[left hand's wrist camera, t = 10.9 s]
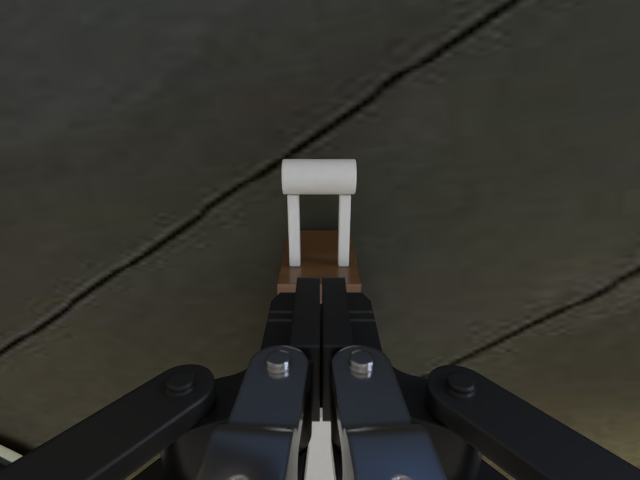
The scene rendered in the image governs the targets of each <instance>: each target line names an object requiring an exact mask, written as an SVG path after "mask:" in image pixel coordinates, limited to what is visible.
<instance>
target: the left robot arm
mask: <svg viewBox="0 0 640 480" xmlns="http://www.w3.org/2000/svg"><path fill="white" fill-rule="evenodd" d="M322 415H323V421H331V457H332V466H333V475H334V480H508V479H507V478H506V477H505V476H503V475H502V474H501V473H499V472H498V471H497V470H495V469H494V468H493V467H491V466H490V465H489V464H488V463H486V462H485V461H484V460H482V454H483V455H484V456H485V457H487V458H488V459H489V460H491V461H492V462H493V463H495V464H496V465H497V466H499V467H500V468H501V469H503V470H504V471H505V472H507V473H508V474H509V475H511V476H512V477H513V478H515V479H516V480H640V469H638V468H637V467H635V466H633V465H632V464H630V463H628V462H626V461H625V460H623V459H621V458H620V457H618V456H616V455H615V454H613V453H611V452H610V451H608V450H606V449H605V448H603V447H601V446H600V445H598V444H596V443H595V442H593V441H591V440H589V439H588V438H586V437H584V436H583V435H581V434H579V433H578V432H576V431H574V430H573V429H571V428H569V427H568V426H566V425H564V424H563V423H561V422H559V421H558V420H556V419H554V418H553V417H551V416H549V415H547V414H546V413H544V412H542V411H541V410H539V409H537V408H536V407H534V406H532V405H531V404H529V403H527V402H526V401H524V400H522V399H521V398H519V397H517V396H516V395H514V394H512V393H511V392H509V391H507V390H505V389H504V388H502V387H500V386H499V385H497V384H495V383H494V382H492V381H490V380H489V379H487V378H485V377H484V376H482V375H480V374H479V373H477V372H475V371H473V370H470V369H468V368H465V367H461V366H454V365H446V366H441V367H438V368H436V369H434V370H433V371H431V372H430V374H429V375H428V378H427V379H425V378H421V377H417V376H412V375H409V374H406V373H403V372H401V371H399V370H397V369H395V368H394V367H392V365H391V362H390V360H389V358H388V357H387V356H386V355H385V354H384V353H383V352H382V349H381V345H380V340H379V336H378V332H377V327H376V323H375V319H374V314H373V310H372V306H371V301H370V300H369V299H368V298H367V297H366V296H365V295H364V294H363V293H362V292H347V290H346V282H345V277H322ZM312 422H320V277H297V283H296V291H295V292H280V293H279V294H278V295H277V296H276V297H275V298H274V299H273V300H272V302H271V306H270V311H269V315H268V322H267V324H266V329H265V333H264V338H263V343H262V347H261V350H260V351H259V352H257V353H256V354H255V355H254V356H253V357H252V358H251V360H250V362H249V365H248V368H247V369H246V370H244V371H242V372H240V373H237V374H234V375H231V376H227V377H222V378H218V379H214V376H213V374H212V372H211V371H210V370H209V369H207V368H205V367H203V366H200V365H192V364H189V365H181V366H177V367H174V368H171V369H169V370H167V371H165V372H163V373H161V374H160V375H158V376H156V377H155V378H153V379H151V380H150V381H148V382H146V383H145V384H143V385H141V386H140V387H138V388H136V389H135V390H133V391H131V392H130V393H128V394H126V395H124V396H123V397H121V398H119V399H118V400H116V401H114V402H113V403H111V404H109V405H108V406H106V407H104V408H103V409H101V410H99V411H98V412H96V413H94V414H93V415H91V416H89V417H87V418H86V419H84V420H82V421H81V422H79V423H77V424H76V425H74V426H72V427H71V428H69V429H67V430H66V431H64V432H62V433H61V434H59V435H57V436H56V437H54V438H52V439H51V440H49V441H47V442H45V443H44V444H42V445H40V446H39V447H37V448H35V449H34V450H32V451H30V452H29V453H27V454H25V455H24V456H22V457H20V458H19V459H17V460H15V461H14V462H12V463H10V464H9V465H7V466H5V467H3V468H2V469H0V480H124V479H125V478H127V477H128V476H129V475H131V474H132V473H133V472H135V471H136V470H137V469H139V468H140V467H141V466H143V465H144V464H145V463H147V462H148V461H149V460H151V459H152V458H153V457H155V456H156V455H157V454H158V453H160V455H161V457H160V458H159V459H158V460H156V461H155V462H154V463H152V464H151V465H150V466H149V467H147V468H146V469H145V470H143V471H142V472H141V473H139V474H138V475H137V476H135V477H134V478H133V479H132V480H306V475H307V466H308V457H309V442H310V440H311V435H312Z"/></svg>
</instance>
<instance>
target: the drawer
mask: <svg viewBox="0 0 640 480" xmlns="http://www.w3.org/2000/svg"><path fill="white" fill-rule="evenodd" d="M356 178H357V171H356V160H355V159H283V161H282V190H283V194H288V196H287V202H288V234H287V239H286V244H285V248H284V253H283V258H282V262H281V267H280V272H279V276H278V281H277V295H278V294H279V293H280V292H295V291H296V283H297V277H320V408H322V277H345V282H346V290H347V292H361V286H362V285H361V280H360V275H359V270H358V265H357V261H356V256H355V251H354V246H353V241H352V236H351V231H350V210H351V195H350V194H355V192H356ZM299 194H339V219H338V230H300V204H299Z"/></svg>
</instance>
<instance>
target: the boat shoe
mask: <svg viewBox="0 0 640 480" xmlns="http://www.w3.org/2000/svg"><path fill="white" fill-rule="evenodd" d="M20 457H22V455H20V454H18V453H16V452H14V451H12V450H10V449H8V448H6V447H4V446H2V445H0V469H2V468H3V467H5V466H7V465H9V464H10V463H12V462H14V461H15V460H17V459H19V458H20Z"/></svg>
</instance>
